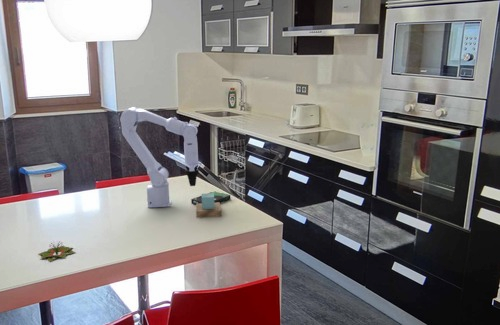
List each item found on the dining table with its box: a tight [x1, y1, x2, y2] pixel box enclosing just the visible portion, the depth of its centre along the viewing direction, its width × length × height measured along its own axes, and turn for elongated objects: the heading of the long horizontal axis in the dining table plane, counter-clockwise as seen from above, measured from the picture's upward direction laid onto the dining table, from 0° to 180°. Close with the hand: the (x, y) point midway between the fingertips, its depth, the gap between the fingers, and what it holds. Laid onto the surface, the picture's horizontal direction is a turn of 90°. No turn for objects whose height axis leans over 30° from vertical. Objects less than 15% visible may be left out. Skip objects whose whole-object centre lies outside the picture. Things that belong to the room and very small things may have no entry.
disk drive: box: [190, 191, 232, 206], centre depth 202 cm, size 10×3×15 cm
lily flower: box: [38, 240, 77, 262], centre depth 152 cm, size 12×12×5 cm
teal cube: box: [201, 192, 215, 209], centre depth 188 cm, size 5×5×5 cm
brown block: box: [195, 202, 222, 218], centre depth 189 cm, size 10×10×3 cm
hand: (192, 183), depth 198 cm, fingers open, 7 cm apart
